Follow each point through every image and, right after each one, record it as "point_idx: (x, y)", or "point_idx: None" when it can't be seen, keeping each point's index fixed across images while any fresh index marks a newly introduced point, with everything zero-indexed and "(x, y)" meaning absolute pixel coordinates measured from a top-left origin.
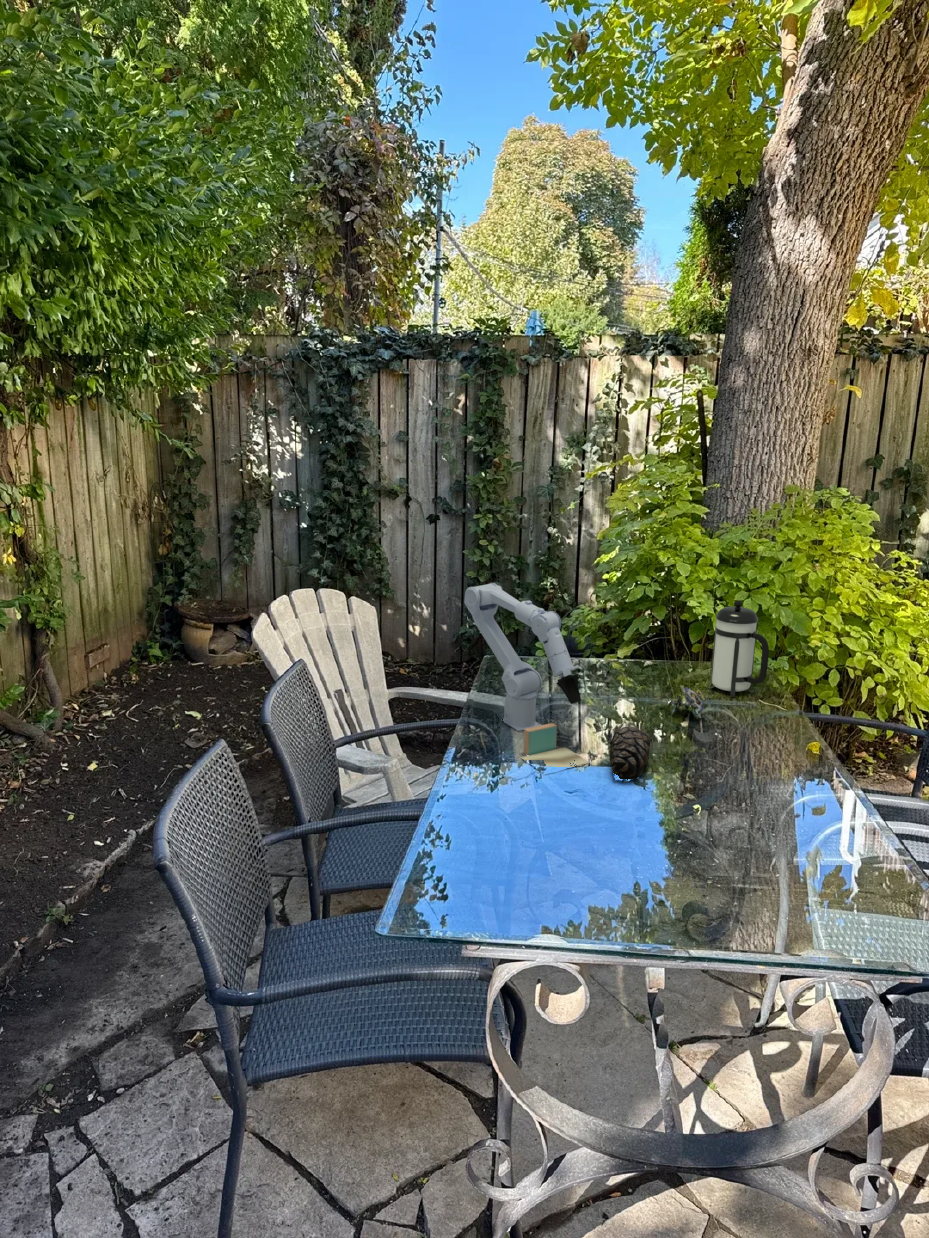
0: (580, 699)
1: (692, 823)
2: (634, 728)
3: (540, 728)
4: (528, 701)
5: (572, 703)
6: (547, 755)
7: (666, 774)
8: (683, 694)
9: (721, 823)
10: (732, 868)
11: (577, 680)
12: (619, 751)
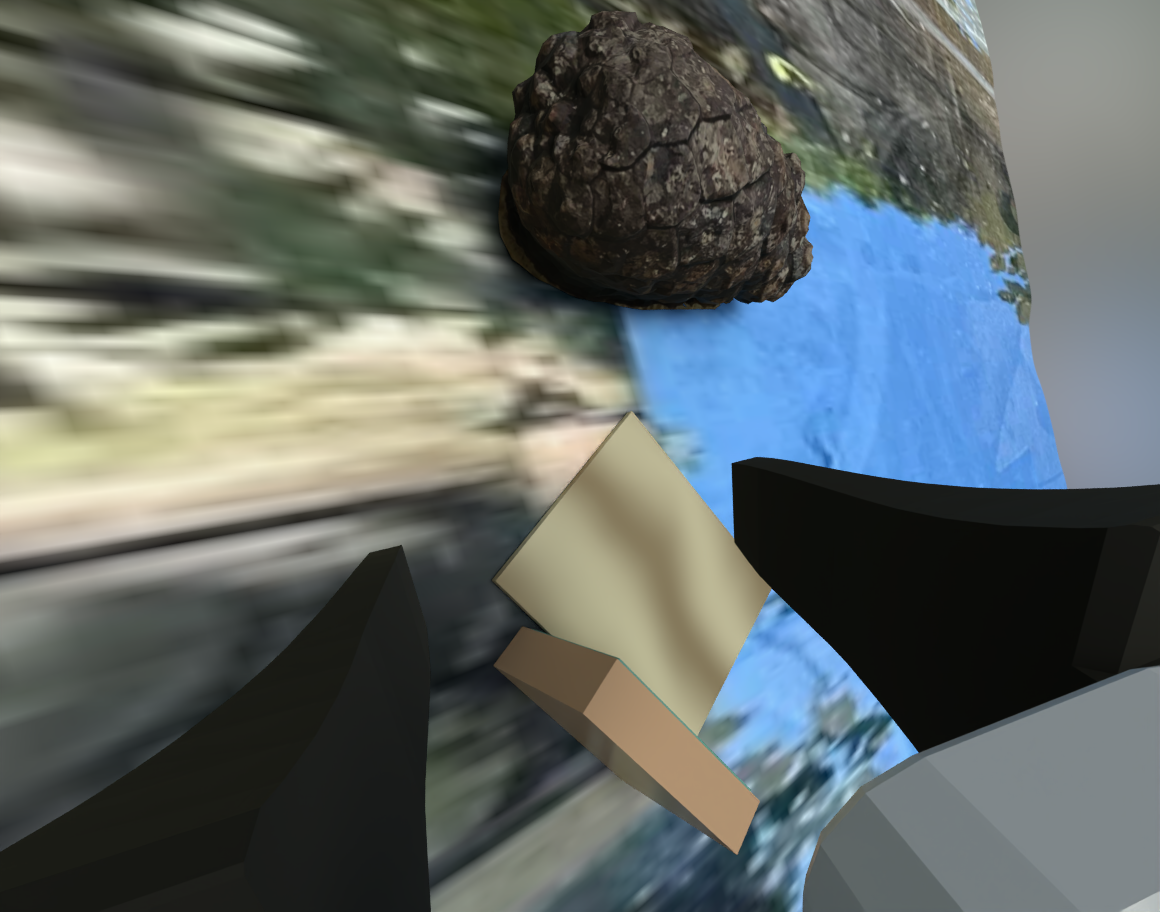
0: (767, 458)
1: (845, 118)
2: (687, 68)
3: (696, 750)
4: None
5: (420, 619)
6: (626, 639)
7: None
8: None
9: (825, 40)
10: (932, 103)
11: (1076, 495)
12: (788, 238)
